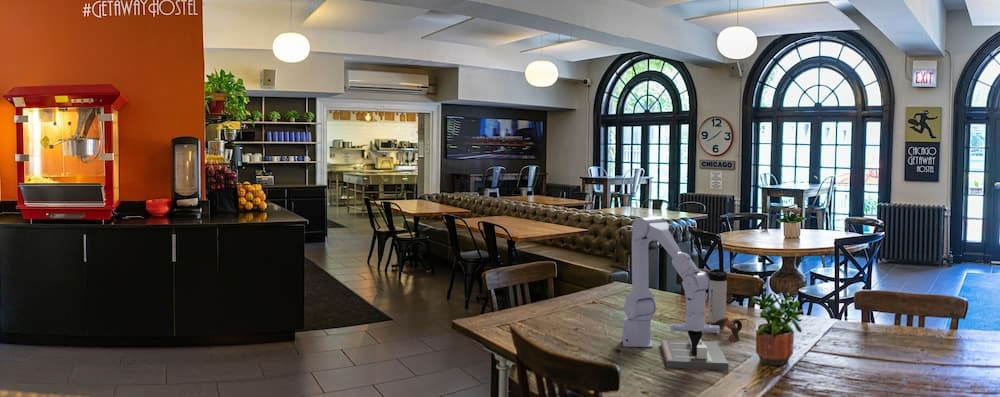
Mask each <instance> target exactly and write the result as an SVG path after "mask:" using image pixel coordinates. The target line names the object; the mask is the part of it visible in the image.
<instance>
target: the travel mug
mask: <svg viewBox="0 0 1000 397" xmlns="http://www.w3.org/2000/svg"><path fill="white" fill-rule="evenodd" d="M727 274H728V273H727V271H725V270H722V269H719V268H714V269H711V270H709V275H708V277H709V279H710V286H709V288H708V308H707V309H708V310H707V312H708V313H707V315H708V319H707V323H708V325H710V324H711V323H715V322H716V321H718V320H720V319H723V318H725V317H727V291H728V290H727V285H728V279H727V278H728V277H727V276H728V275H727ZM724 325H725V324H723V326H724ZM725 326H726V325H725Z"/></svg>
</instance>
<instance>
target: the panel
mask: <svg viewBox="0 0 1000 397" xmlns="http://www.w3.org/2000/svg"><path fill="white" fill-rule="evenodd" d="M702 345H706V347H707V359H697V358H696V356H692V354H691V345H689V343H688V340H683V339H682V340H681V339H680V340H679V339H660V347H661V350H662V354H663V357H664V361H665V365H666V367H667V368H677V369H679V368H680V369H696V370H697V369H699V370H701V369H702V370H724V371H726V370H727V371H728V370H729V362H728V360H727V359H726V357H725V355H724V353H723V350H722V348H720V346H719V343H718V342H717V341H714V340H713V341H708V340H702Z"/></svg>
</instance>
